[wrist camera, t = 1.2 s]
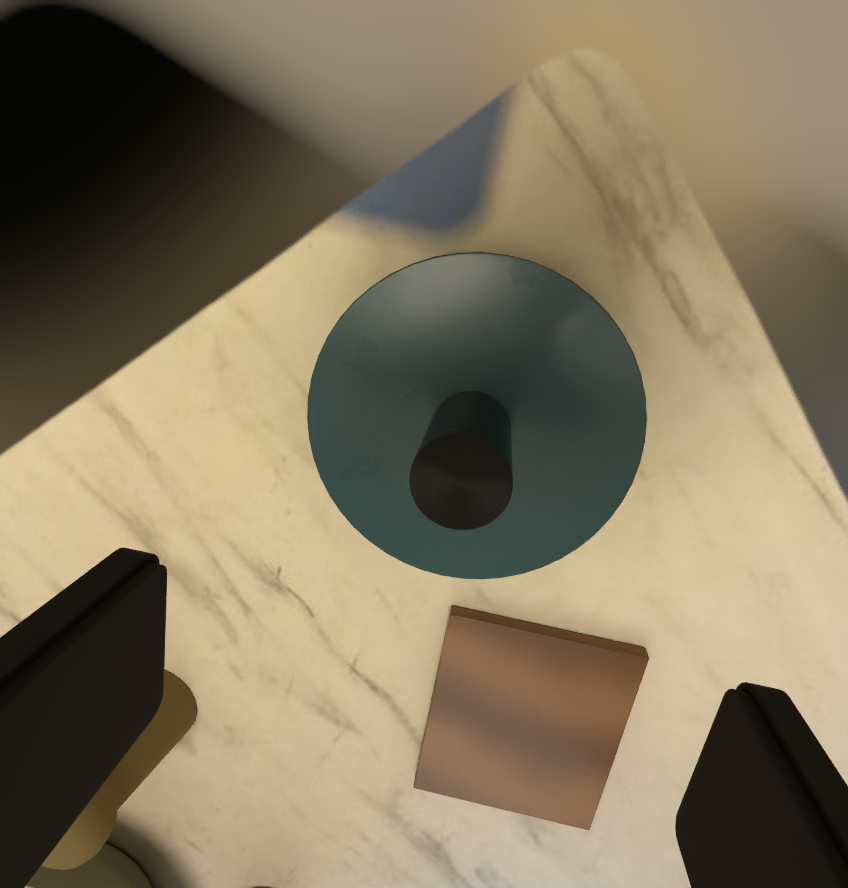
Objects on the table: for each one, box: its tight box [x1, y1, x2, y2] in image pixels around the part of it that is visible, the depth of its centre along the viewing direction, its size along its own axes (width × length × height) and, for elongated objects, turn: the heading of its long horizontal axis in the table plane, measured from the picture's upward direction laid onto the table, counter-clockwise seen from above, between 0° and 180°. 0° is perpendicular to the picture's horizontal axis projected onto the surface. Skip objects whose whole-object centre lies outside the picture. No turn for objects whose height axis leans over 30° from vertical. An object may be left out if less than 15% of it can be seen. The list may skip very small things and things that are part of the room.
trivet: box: [414, 606, 649, 830], centre depth 38 cm, size 14×12×1 cm
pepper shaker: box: [41, 670, 197, 870], centre depth 37 cm, size 6×6×11 cm
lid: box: [307, 252, 647, 579], centre depth 22 cm, size 14×14×7 cm
